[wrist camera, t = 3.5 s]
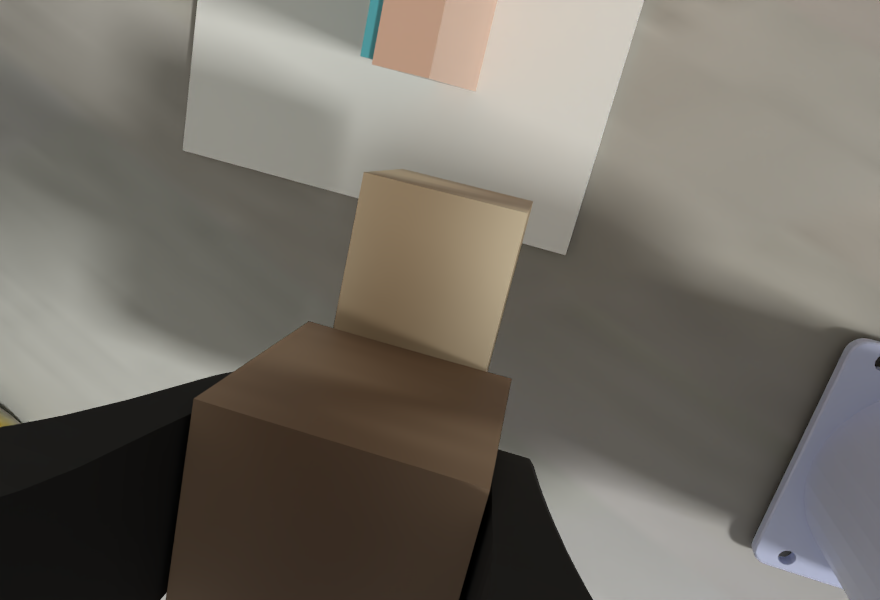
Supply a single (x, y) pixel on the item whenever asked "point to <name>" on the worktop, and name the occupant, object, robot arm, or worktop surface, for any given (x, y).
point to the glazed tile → (430, 38)
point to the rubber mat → (411, 101)
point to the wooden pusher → (362, 416)
